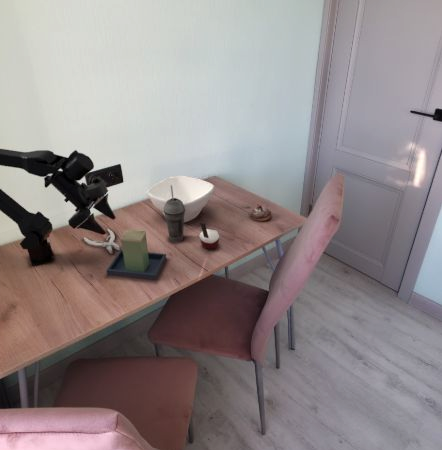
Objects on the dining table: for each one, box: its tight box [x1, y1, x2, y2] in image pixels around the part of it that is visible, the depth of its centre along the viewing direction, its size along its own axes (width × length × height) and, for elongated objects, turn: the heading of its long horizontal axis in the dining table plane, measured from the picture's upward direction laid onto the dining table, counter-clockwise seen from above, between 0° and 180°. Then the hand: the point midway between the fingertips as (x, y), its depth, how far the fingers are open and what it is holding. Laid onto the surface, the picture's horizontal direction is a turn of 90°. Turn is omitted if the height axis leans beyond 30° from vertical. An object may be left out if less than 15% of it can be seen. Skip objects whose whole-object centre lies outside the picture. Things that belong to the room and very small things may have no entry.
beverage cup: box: [163, 185, 185, 243], centre depth 136 cm, size 7×7×20 cm
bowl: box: [146, 175, 215, 223], centre depth 153 cm, size 22×22×12 cm
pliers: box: [83, 228, 121, 254], centre depth 139 cm, size 10×2×15 cm
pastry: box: [250, 204, 272, 222], centre depth 154 cm, size 8×8×5 cm
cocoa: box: [199, 222, 220, 250], centre depth 133 cm, size 10×6×12 cm, turn 135°
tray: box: [106, 249, 167, 281], centre depth 126 cm, size 11×15×2 cm
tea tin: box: [119, 229, 149, 272], centre depth 123 cm, size 5×6×12 cm
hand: (109, 226), depth 122 cm, fingers open, 9 cm apart
